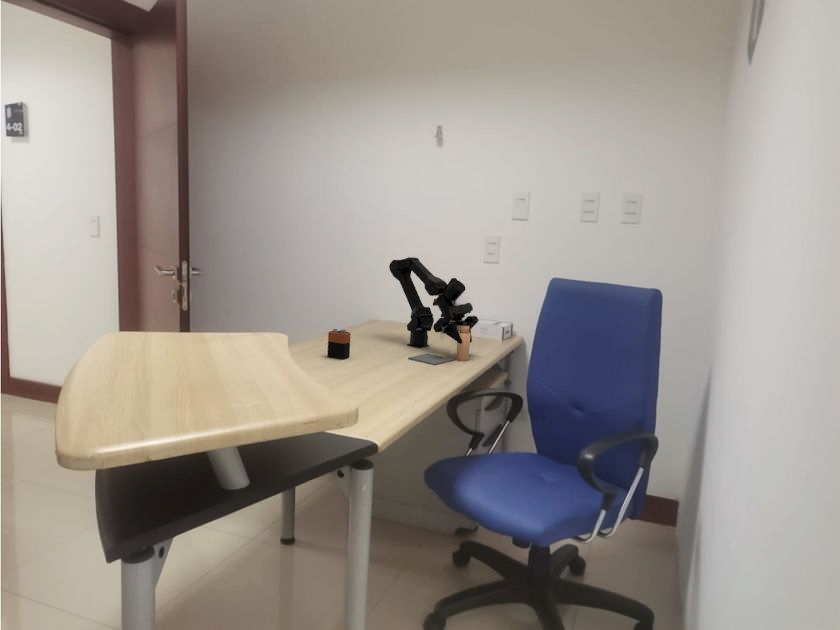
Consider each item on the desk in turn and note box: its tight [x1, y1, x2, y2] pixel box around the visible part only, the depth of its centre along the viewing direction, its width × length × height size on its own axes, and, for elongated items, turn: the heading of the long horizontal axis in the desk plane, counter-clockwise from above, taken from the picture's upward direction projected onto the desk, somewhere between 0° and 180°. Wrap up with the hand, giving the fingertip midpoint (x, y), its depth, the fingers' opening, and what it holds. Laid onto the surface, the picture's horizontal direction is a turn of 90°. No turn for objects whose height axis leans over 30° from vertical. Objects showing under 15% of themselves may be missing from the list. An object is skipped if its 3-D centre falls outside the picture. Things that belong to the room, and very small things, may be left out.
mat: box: [407, 353, 455, 366], centre depth 207 cm, size 12×12×1 cm
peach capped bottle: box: [455, 325, 472, 362], centre depth 210 cm, size 5×5×12 cm
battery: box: [327, 328, 351, 360], centre depth 201 cm, size 4×7×10 cm, turn 68°
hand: (466, 342), depth 209 cm, fingers closed on peach capped bottle, 5 cm apart
